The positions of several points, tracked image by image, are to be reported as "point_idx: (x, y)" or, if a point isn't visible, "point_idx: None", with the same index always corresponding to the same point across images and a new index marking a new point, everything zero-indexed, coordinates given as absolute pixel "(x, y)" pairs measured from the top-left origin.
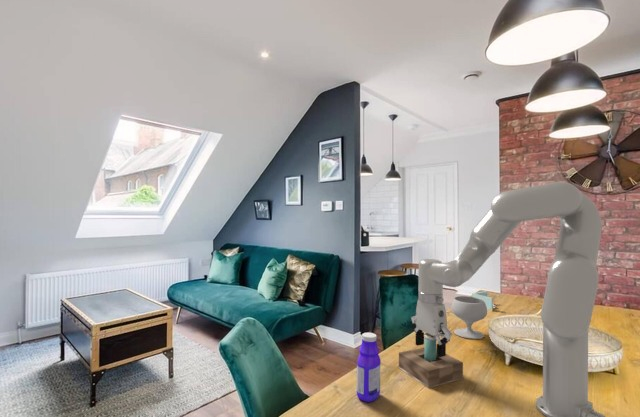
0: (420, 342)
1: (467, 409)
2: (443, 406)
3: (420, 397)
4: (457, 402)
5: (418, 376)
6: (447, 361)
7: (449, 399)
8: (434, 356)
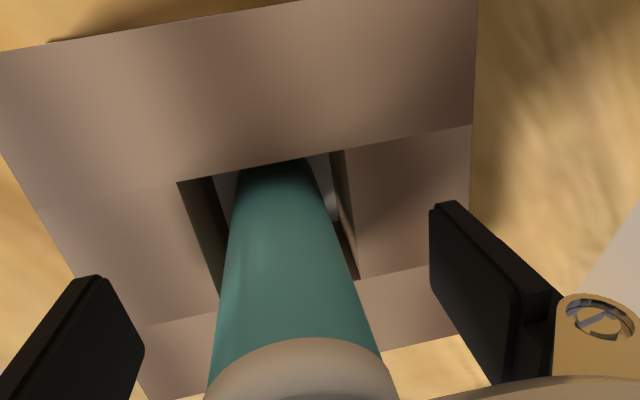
0: (116, 337)
1: (630, 193)
2: (558, 273)
3: None
4: (573, 203)
5: None
6: (396, 127)
7: (538, 224)
8: (337, 238)
